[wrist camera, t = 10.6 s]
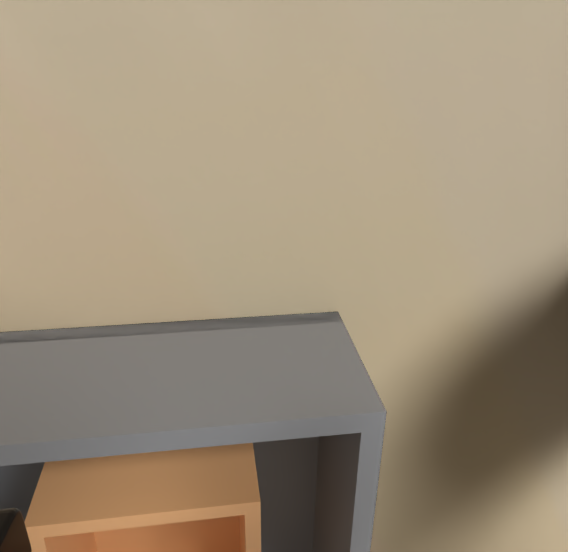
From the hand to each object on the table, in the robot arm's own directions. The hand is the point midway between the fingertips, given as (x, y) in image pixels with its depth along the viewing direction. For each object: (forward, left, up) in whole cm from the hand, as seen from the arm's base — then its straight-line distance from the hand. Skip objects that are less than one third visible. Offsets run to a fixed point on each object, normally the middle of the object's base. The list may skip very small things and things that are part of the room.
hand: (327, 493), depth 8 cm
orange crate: (+4, +12, -11) cm, 17 cm away
